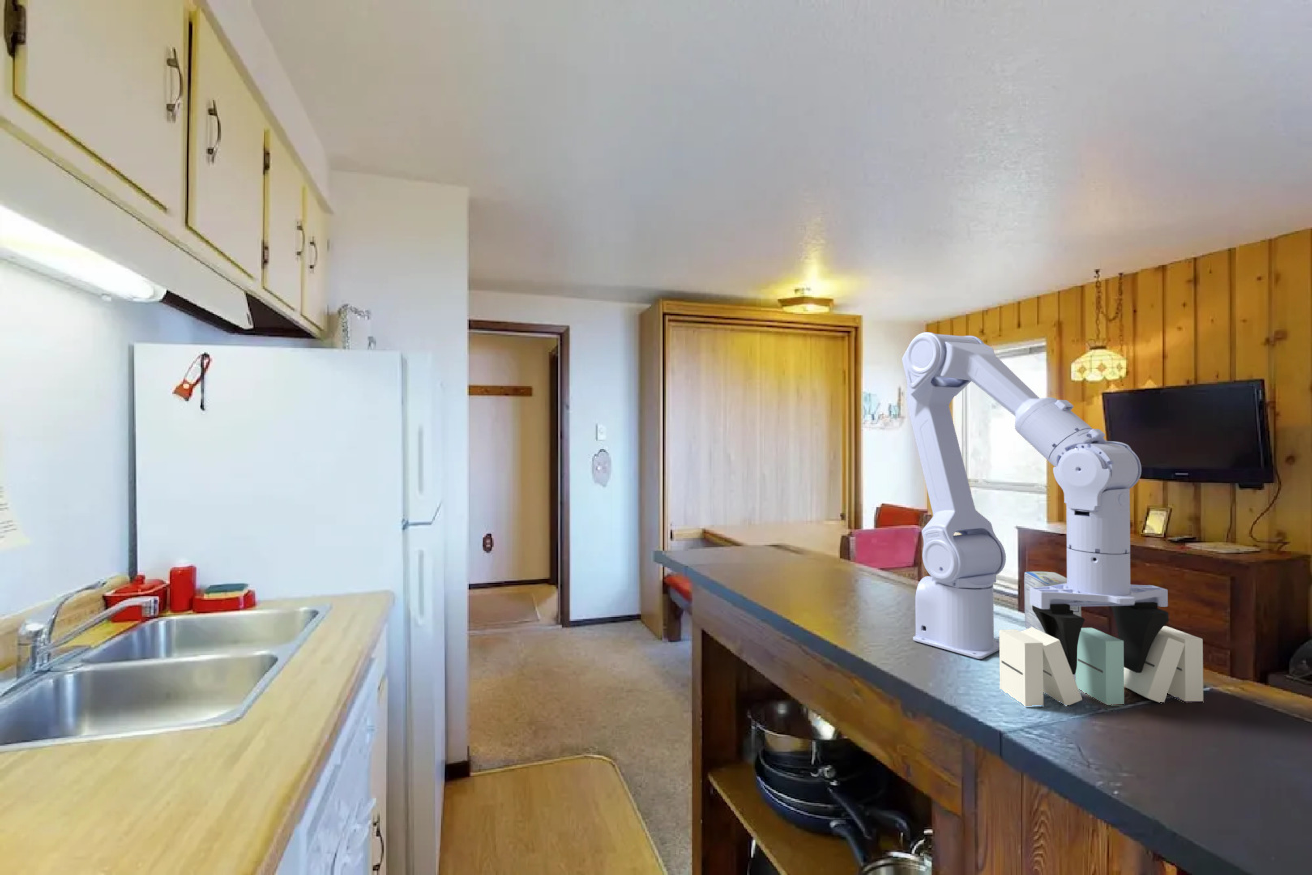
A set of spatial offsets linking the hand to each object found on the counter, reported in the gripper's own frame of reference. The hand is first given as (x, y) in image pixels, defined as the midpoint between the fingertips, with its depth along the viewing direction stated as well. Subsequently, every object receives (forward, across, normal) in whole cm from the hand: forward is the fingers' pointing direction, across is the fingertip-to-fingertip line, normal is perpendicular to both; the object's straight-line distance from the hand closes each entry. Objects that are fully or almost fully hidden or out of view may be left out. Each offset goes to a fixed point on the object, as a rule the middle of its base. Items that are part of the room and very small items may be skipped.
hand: (1098, 670), depth 66 cm
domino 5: (+3, +9, 0) cm, 9 cm away
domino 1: (+3, -9, 0) cm, 9 cm away
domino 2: (+3, -5, 0) cm, 5 cm away
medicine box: (+3, +9, +19) cm, 22 cm away
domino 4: (+3, +5, 0) cm, 5 cm away
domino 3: (+3, 0, 0) cm, 3 cm away
